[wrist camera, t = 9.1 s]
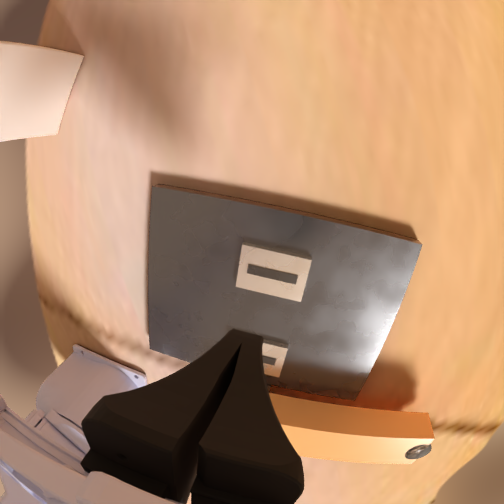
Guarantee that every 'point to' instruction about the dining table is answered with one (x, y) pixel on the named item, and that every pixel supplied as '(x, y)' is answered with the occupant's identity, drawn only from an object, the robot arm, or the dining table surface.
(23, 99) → the milk carton
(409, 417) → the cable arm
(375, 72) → the dining table surface
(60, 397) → the robot arm
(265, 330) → the server tray
